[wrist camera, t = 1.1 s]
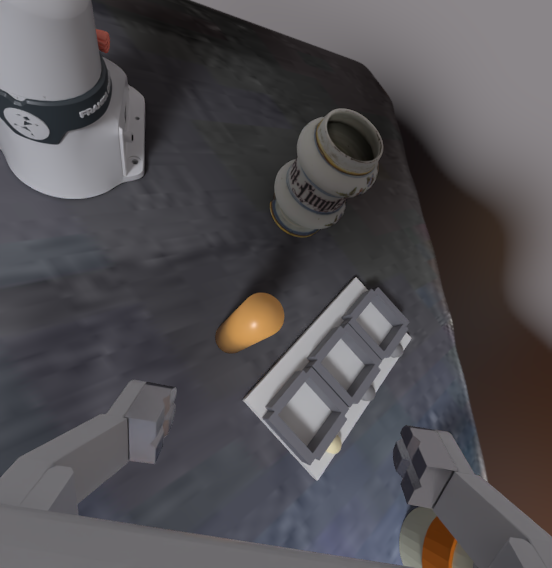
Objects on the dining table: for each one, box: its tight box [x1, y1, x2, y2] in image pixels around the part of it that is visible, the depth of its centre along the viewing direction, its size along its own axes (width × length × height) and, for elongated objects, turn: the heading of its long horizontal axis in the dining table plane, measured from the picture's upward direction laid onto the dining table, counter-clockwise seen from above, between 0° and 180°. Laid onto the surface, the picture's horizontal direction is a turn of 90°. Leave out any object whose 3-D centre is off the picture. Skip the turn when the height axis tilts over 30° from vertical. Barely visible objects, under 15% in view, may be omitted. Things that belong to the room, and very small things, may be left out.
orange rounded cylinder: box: [215, 293, 284, 353], centre depth 36 cm, size 4×4×14 cm
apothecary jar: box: [270, 109, 383, 237], centre depth 46 cm, size 12×12×18 cm
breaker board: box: [243, 277, 411, 480], centre depth 45 cm, size 27×14×4 cm, turn 136°
